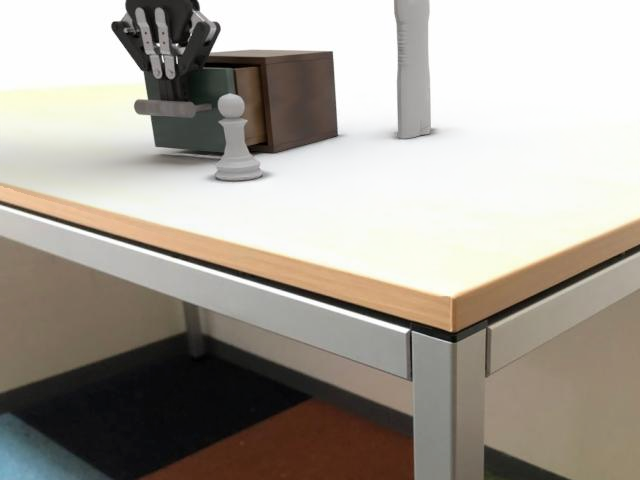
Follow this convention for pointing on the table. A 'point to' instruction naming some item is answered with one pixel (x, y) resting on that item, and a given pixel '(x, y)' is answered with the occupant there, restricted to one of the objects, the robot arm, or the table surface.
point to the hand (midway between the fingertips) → (177, 114)
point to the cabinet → (292, 95)
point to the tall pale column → (413, 68)
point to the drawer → (206, 108)
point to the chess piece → (235, 143)
